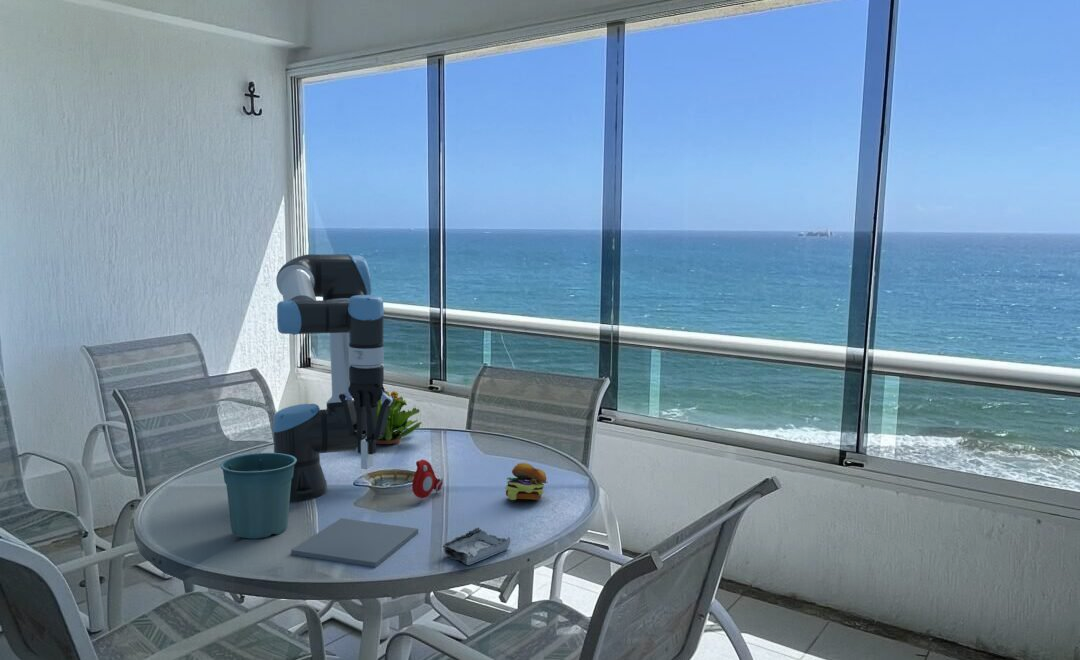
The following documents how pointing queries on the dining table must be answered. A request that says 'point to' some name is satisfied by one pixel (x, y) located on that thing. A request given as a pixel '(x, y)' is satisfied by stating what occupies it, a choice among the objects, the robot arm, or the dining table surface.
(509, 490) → the cheeseburger
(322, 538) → the mat
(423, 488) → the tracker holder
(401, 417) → the potted flower
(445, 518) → the dining table surface
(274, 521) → the flower pot
